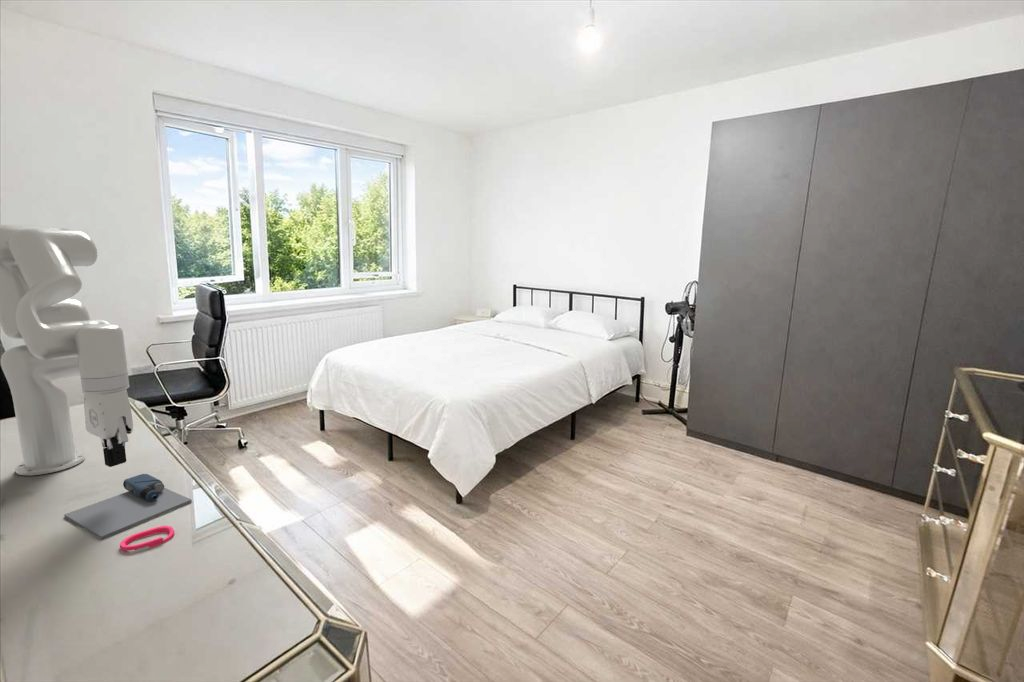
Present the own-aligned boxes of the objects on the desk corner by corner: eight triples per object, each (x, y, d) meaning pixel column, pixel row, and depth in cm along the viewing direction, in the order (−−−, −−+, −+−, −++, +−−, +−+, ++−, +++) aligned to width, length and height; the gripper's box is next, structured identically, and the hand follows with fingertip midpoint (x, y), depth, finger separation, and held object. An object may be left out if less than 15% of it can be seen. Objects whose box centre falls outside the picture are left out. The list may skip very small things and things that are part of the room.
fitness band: (121, 558, 83) (120, 551, 83) (119, 543, 87) (118, 536, 87) (176, 541, 88) (175, 534, 88) (172, 528, 92) (171, 521, 92)
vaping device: (120, 480, 104) (147, 494, 99) (147, 471, 109) (175, 484, 103) (122, 490, 105) (148, 505, 99) (148, 481, 109) (175, 495, 104)
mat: (64, 517, 95) (64, 514, 95) (153, 485, 109) (152, 482, 109) (101, 539, 88) (101, 536, 88) (191, 502, 102) (191, 499, 102)
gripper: (66, 381, 98) (78, 462, 101) (100, 392, 91) (111, 479, 94) (110, 374, 104) (119, 450, 107) (144, 384, 98) (153, 465, 101)
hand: (116, 463), depth 101 cm, fingers closed
